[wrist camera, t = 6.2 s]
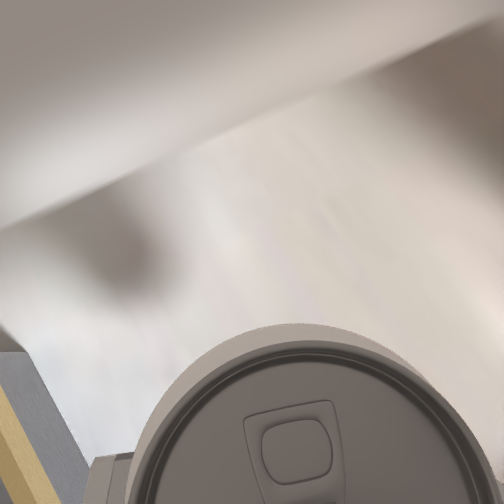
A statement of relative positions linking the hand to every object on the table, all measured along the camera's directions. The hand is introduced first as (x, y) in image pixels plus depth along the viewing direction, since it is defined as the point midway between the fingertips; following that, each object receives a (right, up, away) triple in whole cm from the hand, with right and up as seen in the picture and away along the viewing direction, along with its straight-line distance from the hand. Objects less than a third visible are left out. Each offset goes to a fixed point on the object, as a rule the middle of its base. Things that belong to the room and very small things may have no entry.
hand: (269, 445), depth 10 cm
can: (0, -3, +8) cm, 8 cm away
